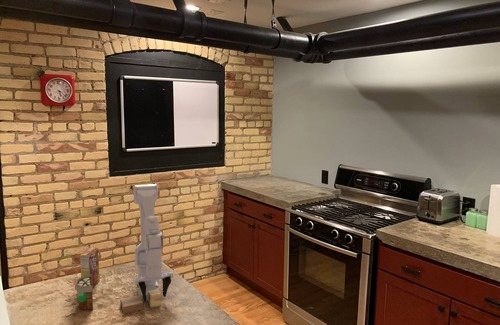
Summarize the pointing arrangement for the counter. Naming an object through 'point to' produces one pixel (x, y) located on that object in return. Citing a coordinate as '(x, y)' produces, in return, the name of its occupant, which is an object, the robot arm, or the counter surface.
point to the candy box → (90, 264)
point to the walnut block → (131, 304)
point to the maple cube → (154, 298)
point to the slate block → (146, 292)
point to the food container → (85, 292)
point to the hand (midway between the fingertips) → (154, 297)
